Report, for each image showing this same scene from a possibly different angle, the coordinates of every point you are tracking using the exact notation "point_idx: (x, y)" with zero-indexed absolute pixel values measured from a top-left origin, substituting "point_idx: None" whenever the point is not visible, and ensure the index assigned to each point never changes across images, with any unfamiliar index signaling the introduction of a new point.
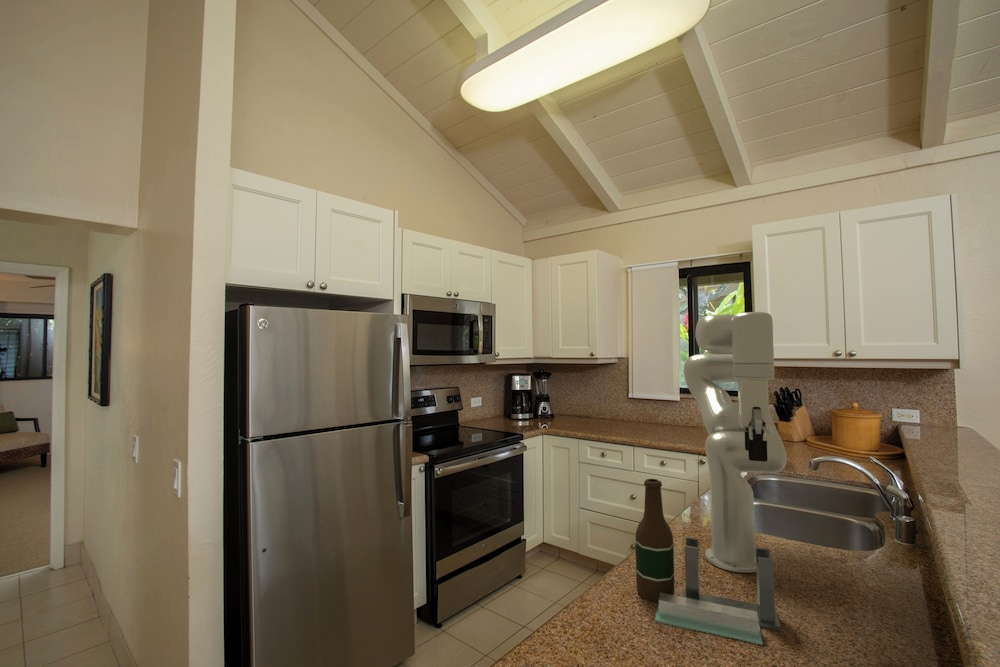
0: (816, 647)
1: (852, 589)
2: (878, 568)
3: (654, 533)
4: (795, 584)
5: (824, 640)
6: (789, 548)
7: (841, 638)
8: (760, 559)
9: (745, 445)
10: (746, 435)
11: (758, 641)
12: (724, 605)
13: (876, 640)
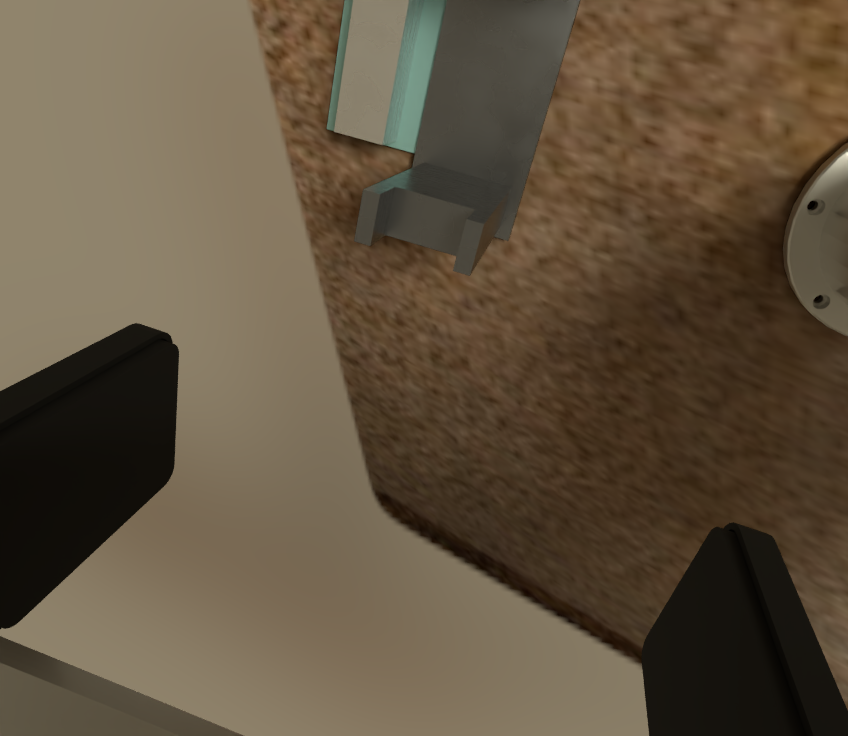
0: (354, 267)
1: (661, 513)
2: None
3: None
4: (692, 377)
5: (388, 302)
6: None
7: (404, 346)
8: (364, 195)
9: (747, 564)
10: (767, 722)
11: (331, 119)
12: (400, 40)
13: (411, 416)
